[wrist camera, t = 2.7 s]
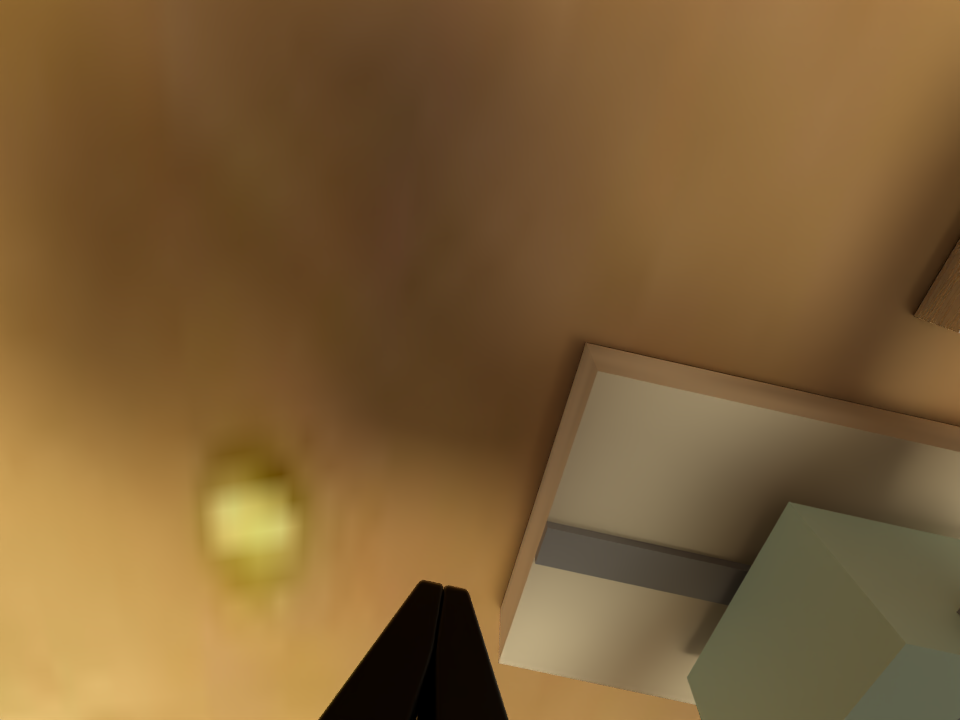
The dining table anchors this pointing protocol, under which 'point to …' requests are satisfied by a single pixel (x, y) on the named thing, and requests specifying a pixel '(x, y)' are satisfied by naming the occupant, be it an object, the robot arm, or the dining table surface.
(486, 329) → the dining table surface
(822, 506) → the board
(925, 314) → the bolt hole plate
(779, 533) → the slider leg
